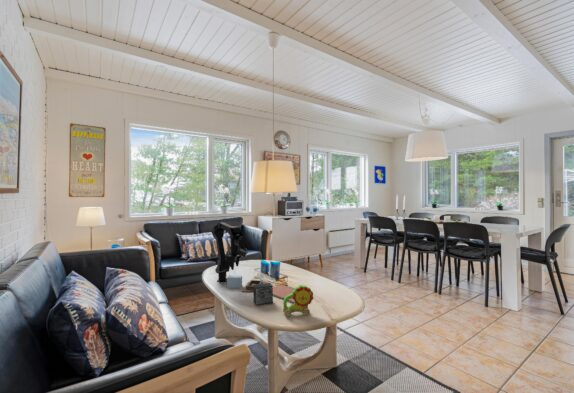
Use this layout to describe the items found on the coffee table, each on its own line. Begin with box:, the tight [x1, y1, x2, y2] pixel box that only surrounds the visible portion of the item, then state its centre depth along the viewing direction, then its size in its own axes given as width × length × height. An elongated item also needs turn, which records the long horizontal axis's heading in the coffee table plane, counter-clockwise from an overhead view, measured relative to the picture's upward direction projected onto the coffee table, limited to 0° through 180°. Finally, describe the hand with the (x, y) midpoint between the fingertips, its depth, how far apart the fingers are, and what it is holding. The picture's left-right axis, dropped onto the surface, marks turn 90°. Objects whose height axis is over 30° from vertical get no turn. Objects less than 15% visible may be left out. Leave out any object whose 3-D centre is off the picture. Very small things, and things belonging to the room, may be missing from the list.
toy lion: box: [283, 284, 314, 318], centre depth 153 cm, size 16×5×15 cm, turn 99°
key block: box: [226, 275, 243, 289], centre depth 198 cm, size 4×9×7 cm, turn 83°
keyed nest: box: [241, 279, 268, 293], centre depth 195 cm, size 18×13×3 cm
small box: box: [252, 282, 274, 306], centre depth 169 cm, size 11×6×10 cm, turn 109°
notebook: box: [273, 284, 296, 304], centre depth 183 cm, size 27×17×2 cm, turn 45°
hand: (235, 268), depth 197 cm, fingers open, 9 cm apart
